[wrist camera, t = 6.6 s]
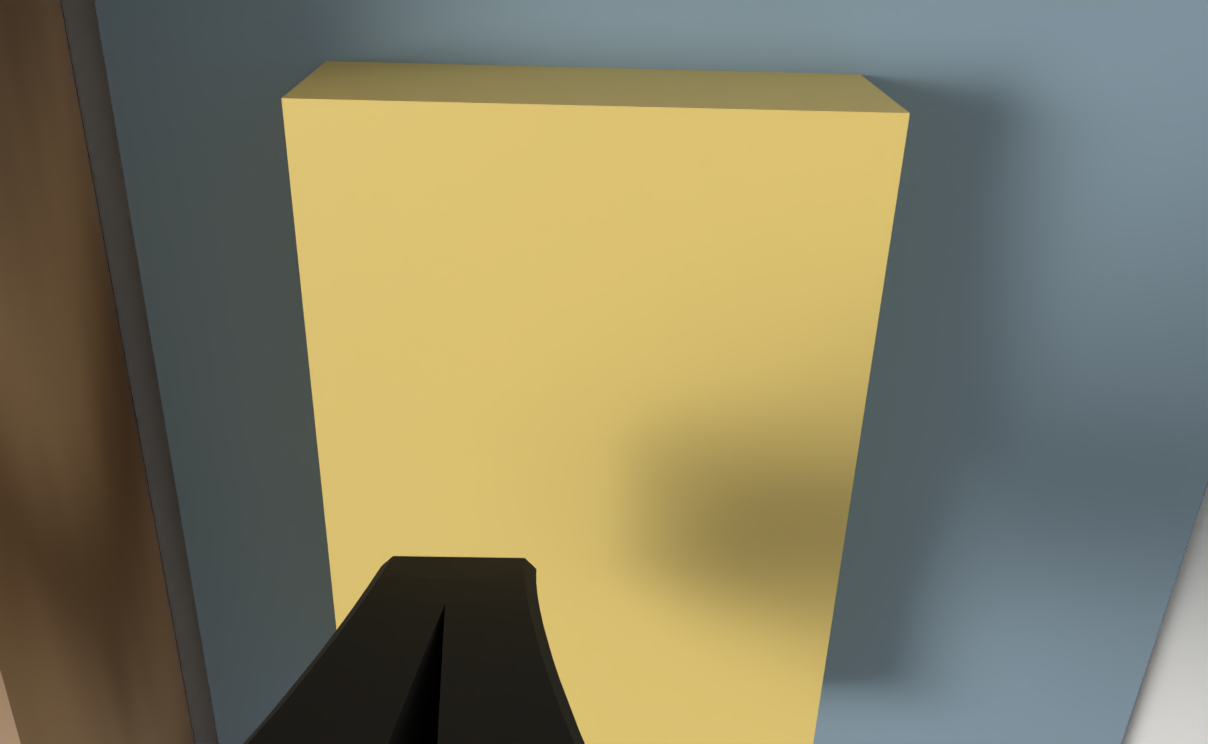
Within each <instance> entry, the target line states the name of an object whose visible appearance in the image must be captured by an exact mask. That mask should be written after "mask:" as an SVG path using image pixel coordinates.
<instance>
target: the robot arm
mask: <svg viewBox="0 0 1208 744" xmlns="http://www.w3.org/2000/svg"><path fill="white" fill-rule="evenodd" d="M243 744H585V743H584V740H583V738H582V736H581V733H580V731H579V729H578V726H577V723H576V721H575V718H574V715H573V713H572V710H571V707H570V705H569V702H568V700H567V697H566V694H565V692H564V689H563V686H562V684H561V681H560V678H559V675H558V672H557V669H556V666H555V663H554V660H553V657H552V654H551V650H550V647H549V643H548V640H547V636H546V632H545V629H544V625H543V621H542V616H541V612H540V607H539V601H538V594H537V585H536V568H535V567H534V566H533V565H532V564H531V563H530V562H529V561H527V560H526V559H525V558H496V557H428V556H392V557H391V558H390V559H389V560H388V561H387V562H385V563H384V564H383V565H382V566H381V567H380V569H379V570H378V572H377V573H376V575H375V576H374V578H373V579H372V581H371V582H370V584H369V585H368V587H367V588H366V590H365V591H364V592H363V594H362V595H361V597H360V598H359V600H358V601H357V602H356V604H355V605H354V607H353V608H352V610H351V611H350V612H349V614H348V615H347V616H346V618H345V619H344V621H343V622H342V623H341V625H340V626H339V627H338V629H337V630H336V631H335V633H334V634H333V635H332V636H331V638H330V639H329V640H328V642H327V643H326V644H325V646H324V647H323V648H322V650H321V651H320V652H319V654H318V655H317V656H316V657H315V659H314V660H313V661H312V662H311V664H310V665H309V666H308V667H307V668H306V670H305V671H304V672H303V673H302V675H301V676H300V677H299V678H298V680H297V681H296V682H295V683H294V684H293V686H292V687H291V688H290V689H289V691H288V692H287V693H286V694H285V696H284V697H283V698H282V699H281V700H280V702H279V703H278V704H277V705H276V707H275V708H274V709H273V710H272V711H271V713H270V714H269V715H268V716H267V717H266V718H265V720H264V721H263V722H262V723H261V724H260V725H259V727H258V728H257V729H256V730H255V731H254V732H253V733H252V734H251V735H250V736H249V738H248V739H247V740H246V741H245V742H244V743H243Z"/></svg>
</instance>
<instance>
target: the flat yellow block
mask: <svg viewBox="0 0 1208 744" xmlns="http://www.w3.org/2000/svg"><path fill="white" fill-rule="evenodd" d="M281 99H282V109H283V119H284V128H285V138H286V148H287V157H288V167H289V176H290V186H291V196H292V205H293V215H294V225H295V234H296V244H297V254H298V263H299V273H300V283H301V292H302V302H303V311H304V321H305V331H306V340H307V350H308V360H309V369H310V379H311V389H312V398H313V408H314V418H315V427H316V437H317V446H318V456H319V466H320V475H321V485H322V495H323V504H324V514H325V524H326V533H327V543H328V553H329V562H330V572H331V581H332V591H333V601H334V610H335V620H336V630H337V629H338V627H339V626H340V625H341V623H342V622H343V621H344V619H345V618H346V616H347V615H348V614H349V612H350V611H351V610H352V608H353V607H354V605H355V604H356V602H357V601H358V600H359V598H360V597H361V595H362V594H363V592H364V591H365V590H366V588H367V587H368V585H369V584H370V582H371V581H372V579H373V578H374V576H375V575H376V573H377V572H378V570H379V569H380V567H381V566H382V565H383V564H384V563H385V562H387V561H388V560H389V559H390V558H391V557H392V556H428V557H496V558H525V559H526V560H527V561H529V562H530V563H531V564H532V565H533V566H534V567H535V568H536V585H537V594H538V601H539V607H540V612H541V616H542V621H543V625H544V629H545V632H546V636H547V640H548V643H549V647H550V650H551V654H552V657H553V660H554V663H555V666H556V669H557V672H558V675H559V678H560V681H561V684H562V686H563V689H564V692H565V694H566V697H567V700H568V702H569V705H570V707H571V710H572V713H573V715H574V718H575V721H576V723H577V726H578V729H579V731H580V733H581V736H582V738H583V740H584V743H585V744H813V741H814V735H815V728H816V722H817V715H818V709H819V702H820V696H821V689H822V683H823V676H824V670H825V663H826V657H827V650H828V643H829V637H830V630H831V624H832V617H833V611H834V604H835V598H836V591H837V585H838V578H839V572H840V565H841V559H842V552H843V546H844V539H845V533H846V526H847V520H848V513H849V507H850V500H851V494H852V487H853V481H854V474H855V468H856V461H857V455H858V448H859V442H860V435H861V428H862V422H863V415H864V409H865V402H866V396H867V389H868V383H869V376H870V370H871V363H872V357H873V350H874V344H875V337H876V331H877V324H878V318H879V311H880V305H881V298H882V292H883V285H884V279H885V272H886V266H887V259H888V253H889V246H890V240H891V233H892V227H893V220H894V213H895V207H896V200H897V194H898V187H899V181H900V174H901V168H902V161H903V155H904V148H905V142H906V135H907V129H908V122H909V116H910V113H909V112H908V111H906V110H905V109H904V108H903V107H901V106H900V105H899V104H898V103H896V102H895V101H894V100H892V99H891V98H890V97H889V96H887V95H886V94H885V93H884V92H882V91H881V90H880V89H878V88H877V87H876V86H875V85H873V84H872V83H871V82H870V81H868V80H867V79H866V78H865V77H863V76H862V75H861V74H829V73H788V72H748V71H708V70H668V69H628V68H588V67H548V66H508V65H467V64H427V63H387V62H347V61H326V62H325V63H323V64H322V65H321V66H320V67H319V68H317V69H316V70H315V71H314V72H313V73H311V74H310V75H309V76H308V77H306V78H305V79H304V80H303V81H302V82H300V83H299V84H298V85H297V86H296V87H294V88H293V89H292V90H291V91H290V92H288V93H287V94H286V95H285V96H283V97H282V98H281Z"/></svg>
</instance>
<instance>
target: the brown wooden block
mask: <svg viewBox="0 0 1208 744" xmlns="http://www.w3.org/2000/svg"><path fill="white" fill-rule="evenodd" d="M0 744H194V738H193V733H192V727H191V722H190V716H189V711H188V705H187V700H186V694H185V689H184V683H183V677H182V672H181V666H180V661H179V655H178V650H177V644H176V639H175V633H174V628H173V622H172V617H171V611H170V606H169V600H168V594H167V589H166V583H165V578H164V572H163V567H162V561H161V556H160V550H159V545H158V539H157V534H156V528H155V522H154V517H153V511H152V506H151V500H150V495H149V489H148V484H147V478H146V473H145V467H144V462H143V456H142V451H141V445H140V439H139V434H138V428H137V423H136V417H135V412H134V406H133V401H132V395H131V390H130V384H129V379H128V373H127V368H126V362H125V356H124V351H123V345H122V340H121V334H120V329H119V323H118V318H117V312H116V307H115V301H114V296H113V290H112V284H111V279H110V273H109V268H108V262H107V257H106V251H105V246H104V240H103V235H102V229H101V224H100V218H99V213H98V207H97V201H96V196H95V190H94V185H93V179H92V174H91V168H90V163H89V157H88V152H87V146H86V141H85V135H84V129H83V124H82V118H81V113H80V107H79V102H78V96H77V91H76V85H75V80H74V74H73V69H72V63H71V58H70V52H69V46H68V41H67V35H66V30H65V24H64V19H63V13H62V8H61V2H60V0H0Z"/></svg>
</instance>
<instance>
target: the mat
mask: <svg viewBox="0 0 1208 744" xmlns="http://www.w3.org/2000/svg"><path fill="white" fill-rule="evenodd" d="M94 3H95V9H96V15H97V21H98V27H99V33H100V39H101V45H102V51H103V57H104V63H105V69H106V75H107V81H108V87H109V93H110V98H111V104H112V110H113V116H114V122H115V128H116V134H117V140H118V146H119V152H120V158H121V164H122V170H123V176H124V182H125V188H126V194H127V200H128V206H129V212H130V218H131V224H132V230H133V236H134V242H135V248H136V254H137V260H138V266H139V272H140V278H141V284H142V290H143V296H144V302H145V308H146V314H147V320H148V326H149V332H150V337H151V343H152V349H153V355H154V361H155V367H156V373H157V379H158V385H159V391H160V397H161V403H162V409H163V415H164V421H165V427H166V433H167V439H168V445H169V451H170V457H171V463H172V469H173V475H174V481H175V487H176V493H177V499H178V505H179V511H180V517H181V523H182V529H183V535H184V541H185V547H186V553H187V559H188V565H189V570H190V576H191V582H192V588H193V594H194V600H195V606H196V612H197V618H198V624H199V630H200V636H201V642H202V648H203V654H204V660H205V666H206V672H207V678H208V684H209V690H210V696H211V702H212V708H213V714H214V720H215V726H216V732H217V738H218V744H243V743H244V742H245V741H246V740H247V739H248V738H249V736H250V735H251V734H252V733H253V732H254V731H255V730H256V729H257V728H258V727H259V725H260V724H261V723H262V722H263V721H264V720H265V718H266V717H267V716H268V715H269V714H270V713H271V711H272V710H273V709H274V708H275V707H276V705H277V704H278V703H279V702H280V700H281V699H282V698H283V697H284V696H285V694H286V693H287V692H288V691H289V689H290V688H291V687H292V686H293V684H294V683H295V682H296V681H297V680H298V678H299V677H300V676H301V675H302V673H303V672H304V671H305V670H306V668H307V667H308V666H309V665H310V664H311V662H312V661H313V660H314V659H315V657H316V656H317V655H318V654H319V652H320V651H321V650H322V648H323V647H324V646H325V644H326V643H327V642H328V640H329V639H330V638H331V636H332V635H333V634H334V633H335V631H336V620H335V610H334V601H333V591H332V581H331V572H330V562H329V553H328V543H327V533H326V524H325V514H324V504H323V495H322V485H321V475H320V466H319V456H318V446H317V437H316V427H315V418H314V408H313V398H312V389H311V379H310V369H309V360H308V350H307V340H306V331H305V321H304V311H303V302H302V292H301V283H300V273H299V263H298V254H297V244H296V234H295V225H294V215H293V205H292V196H291V186H290V176H289V167H288V157H287V148H286V138H285V128H284V119H283V109H282V99H281V98H282V97H283V96H285V95H286V94H287V93H288V92H290V91H291V90H292V89H293V88H294V87H296V86H297V85H298V84H299V83H300V82H302V81H303V80H304V79H305V78H306V77H308V76H309V75H310V74H311V73H313V72H314V71H315V70H316V69H317V68H319V67H320V66H321V65H322V64H323V63H325V62H326V61H347V62H387V63H427V64H467V65H508V66H548V67H588V68H628V69H668V70H708V71H748V72H788V73H829V74H861V75H862V76H863V77H865V78H866V79H867V80H868V81H870V82H871V83H872V84H873V85H875V86H876V87H877V88H878V89H880V90H881V91H882V92H884V93H885V94H886V95H887V96H889V97H890V98H891V99H892V100H894V101H895V102H896V103H898V104H899V105H900V106H901V107H903V108H904V109H905V110H906V111H908V112H909V113H910V116H909V122H908V129H907V135H906V142H905V148H904V155H903V161H902V168H901V174H900V181H899V187H898V194H897V200H896V207H895V213H894V220H893V227H892V233H891V240H890V246H889V253H888V259H887V266H886V272H885V279H884V285H883V292H882V298H881V305H880V311H879V318H878V324H877V331H876V337H875V344H874V350H873V357H872V363H871V370H870V376H869V383H868V389H867V396H866V402H865V409H864V415H863V422H862V428H861V435H860V442H859V448H858V455H857V461H856V468H855V474H854V481H853V487H852V494H851V500H850V507H849V513H848V520H847V526H846V533H845V539H844V546H843V552H842V559H841V565H840V572H839V578H838V585H837V591H836V598H835V604H834V611H833V617H832V624H831V630H830V637H829V643H828V650H827V657H826V663H825V670H824V676H823V683H822V689H821V696H820V702H819V709H818V715H817V722H816V728H815V735H814V741H813V744H1121V743H1122V740H1123V737H1124V734H1125V731H1126V728H1127V725H1128V722H1129V719H1130V716H1131V713H1132V710H1133V707H1134V704H1135V701H1136V698H1137V695H1138V692H1139V689H1140V686H1141V683H1142V680H1143V677H1144V674H1145V670H1146V667H1147V664H1148V661H1149V658H1150V655H1151V652H1152V649H1153V646H1154V643H1155V640H1156V637H1157V634H1158V631H1159V628H1160V625H1161V622H1162V619H1163V616H1164V613H1165V610H1166V607H1167V604H1168V601H1169V598H1170V595H1171V592H1172V589H1173V586H1174V583H1175V580H1176V577H1177V574H1178V571H1179V568H1180V565H1181V562H1182V559H1183V556H1184V553H1185V550H1186V547H1187V544H1188V541H1189V538H1190V535H1191V532H1192V529H1193V526H1194V523H1195V520H1196V517H1197V514H1198V511H1199V508H1200V505H1201V502H1202V499H1203V496H1204V493H1205V490H1206V487H1207V484H1208V0H94Z"/></svg>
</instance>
